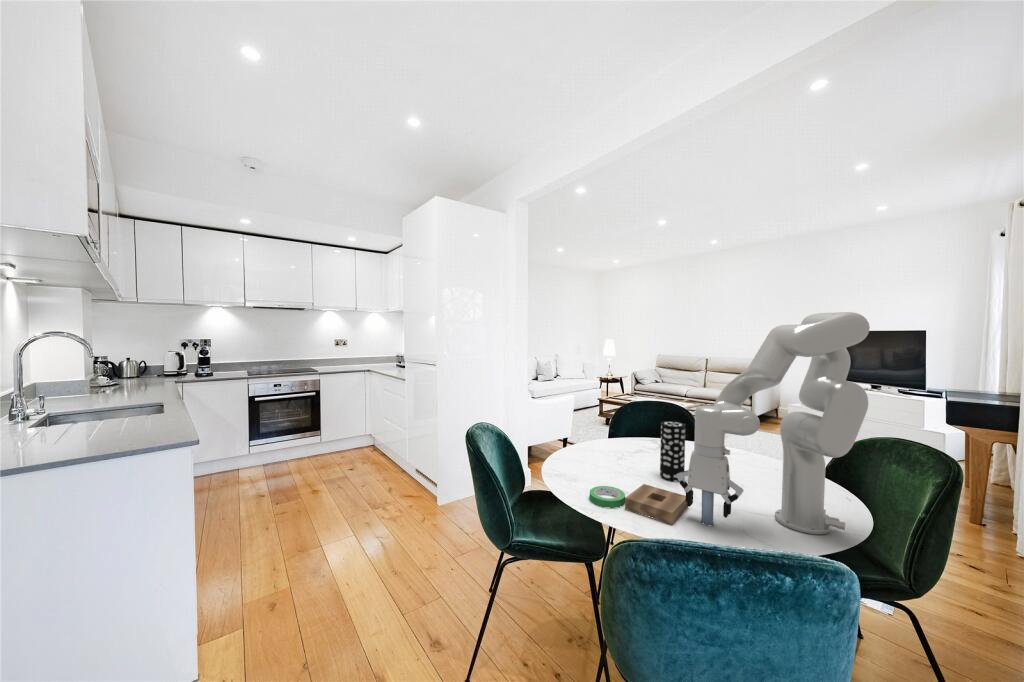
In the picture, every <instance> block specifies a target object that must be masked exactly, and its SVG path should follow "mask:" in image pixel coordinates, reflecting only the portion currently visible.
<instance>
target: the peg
mask: <svg viewBox="0 0 1024 682" xmlns="http://www.w3.org/2000/svg"><path fill="white" fill-rule="evenodd" d="M714 498H715V493H712V492H708V491H704V490H701V517H700V518H701V524H702V523H704V524H706V525H705V526H707V525H712V526H714V509H715V508H714V504H715V503H714V502H715V501H714V500H715V499H714ZM704 524H703V525H704Z"/></svg>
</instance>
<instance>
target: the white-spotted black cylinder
mask: <svg viewBox="0 0 1024 682" xmlns="http://www.w3.org/2000/svg"><path fill="white" fill-rule="evenodd" d="M659 449H660V454H659V455H660V456H659V477H660V478H661V479H662V480H664V481H668V482H673V483H680V482H679V480H678V478H677V476H676V474H677V473H680V472H683V471H685V464H686V463H685V459H686V458H685V457H686V454H685V453H686V423H682V422H678V421H671V420H670V421H669V420H665V421H661V422H660V448H659ZM683 478H684V479H685V477H683Z"/></svg>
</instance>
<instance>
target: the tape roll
mask: <svg viewBox="0 0 1024 682" xmlns="http://www.w3.org/2000/svg"><path fill="white" fill-rule="evenodd" d="M598 495H599V496H598ZM604 495H605V496H610V495H612V498H611V497H610V498H609V497H608V498H607V497H602V496H604ZM625 498H626V493H625V492H624V491H623V490H621V489H620V488H618V487H614V486H610V485H609V486H608V485H598V486H597V485H596V486H594V487H592V488H591V489H590V490H589V500H590V502H591V503H592V504H593V503H594V505H595V504H596V505H595V506H597V505H598V506H597V507H600V506H601V507H600V508H604V507H610V508H609V509H614V508H613V507H619V508H621V507H620V506H622V507H623V506H625Z"/></svg>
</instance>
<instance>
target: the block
mask: <svg viewBox="0 0 1024 682" xmlns="http://www.w3.org/2000/svg"><path fill="white" fill-rule="evenodd" d="M626 509H628V510H627V511H629V510H631V511H630V512H632V511H634V512H633V513H635V512H637V513H636V514H638V513H640V514H639V515H641V514H643V515H642V516H644V515H647V516H650V517H653V518H655V519H658V520H660V521H659V522H661V521H663V522H662V523H664V522H666V523H665V524H667V523H668V524H667V525H670V524H671V525H670V526H673V525H674V524H675V523H676V521H677V520H678V519H679V518H680V517H681V516H682V515H683V514H684V512H686V511H687V509H689V507H688V506H687V502H686V494H685V495H684V494H680V493H677V492H673V491H670V490H666V489H664V488H659V487H655V486H653V485H649V484H645V483H643V484H641V485H640V486H639V487H638V488H637V489H635V490H633V492H631V493H630V494H628V495H627V496H625V504H624V510H626ZM647 516H646V517H647ZM655 519H654V520H655ZM658 520H657V521H658Z"/></svg>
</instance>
